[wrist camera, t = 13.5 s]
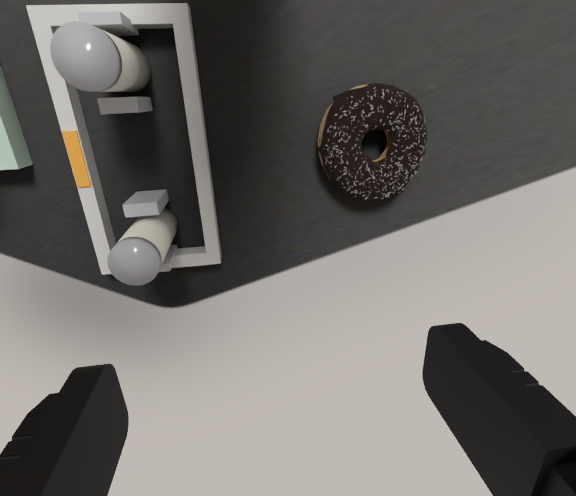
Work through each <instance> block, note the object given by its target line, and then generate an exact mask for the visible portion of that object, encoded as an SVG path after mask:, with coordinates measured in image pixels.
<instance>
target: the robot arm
mask: <svg viewBox="0 0 576 496" xmlns="http://www.w3.org/2000/svg"><path fill="white" fill-rule="evenodd" d="M423 381H424V385H425V389H426V391H427V393H428V395H429V397H430V399H431V400H432V402H433V403H434V405H435V406H436V408H437V410H438V411H439V413H440V414H441V416H442V417H443V419H444V420H445V422H446V423H447V425H448V427H449V428H450V430H451V431H452V433H453V434H454V436H455V437H456V439H457V440H458V442H459V444H460V445H461V447H462V448H463V449H464V451H465V453H466V454H467V456H468V457H469V459H470V461H471V462H472V464H473V465H474V467H475V468H476V470H477V471H478V473H479V474H480V476H481V478H482V479H483V480H484V482H485V484H486V485H487V487H488V488H489V490H490V491H491V493H492V495H493V496H576V416H574V415H573V414H572V413H571V412H570V411H569V410H568V409H567V408H566V407H565V406H564V405H563V404H562V403H561V402H559V401H558V400H557V399H556V398H555V397H554V396H553V395H552V394H551V393H550V392H549V391H548V390H547V389H545V387H543V386H542V385H541V386H540V385H539V383H538V381H537V380H536V379H535V378H534V377H533V376H532V375H531V374H529V372H525V371H524V368H523V367H522V366H521V365H520V364H519V363H518V362H517V361H516V360H515V359H514V358H512V357H511V356H510V355H509V354H508V353H507V352H505V351H504V350H502V349H500V348H498V347H497V346H495V345H493V344H491V343H489V342H487V341H486V340H483V341H481V340H479V338H478V337H477V336H476V335H475V334H474V333H473V332H472V331H470V329H469V328H467V326H465V325H464V324H462V323H456V324H447V325H438V326H432V327H431V328H430V329H429V332H428V338H427V345H426V352H425V358H424V366H423ZM127 431H128V411H127V407H126V404H125V401H124V397H123V394H122V390H121V387H120V384H119V381H118V377H117V374H116V371H115V368H114V367H113V365H111V364H104V365H96V366H87V367H78V368H75V369H74V370H73V371H72V372H71V374H70V375H69V377H68V379H67V380H66V382H65V384H64V385H63V387H62V388H61V390H60V392H59V393H54V394H49V395H48V396H47V397H46V398H45V399H44V400H42V401H41V402H40V403H39V404H38V405H37V406H36V407H35V408H33V409H32V410H31V411H30V412H29V413H28V414H27V415H26V417H25V418H24V420H23V421H22V423H21V424H20V426H19V427H18V429H17V430H16V432H15V433H14V435H13V436H12V441H10V442H8V444H7V445H6V447H5V448H4V450H3V451H2V453H1V454H0V496H107V495H108V492H109V489H110V485H111V483H112V479H113V476H114V473H115V470H116V467H117V464H118V461H119V458H120V455H121V452H122V449H123V446H124V443H125V440H126V437H127Z"/></svg>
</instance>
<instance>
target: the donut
mask: <svg viewBox="0 0 576 496" xmlns="http://www.w3.org/2000/svg"><path fill="white" fill-rule="evenodd" d="M333 99H334V102H333V103H332V104H331V105H330V106H329V107H328V109H327V110H326V112H325V115H324V117H323V119H322V122H321V124H320V129H319V135H318V140H317V141H318V153H319V157H320V161H321V164H322V166H323V168H324V170H325V172H326V174H327V176H328V178H329V179H330V180H329V183H331V184H332V185H334V186H335V187H336V188H338V189H339V190H340V191H341V192H343V193H345V194H347V195H349V196H351V197H353V198H354V199H355V200H358V201H382V200H385V199H388V198H392V197H394V196H396V195H397V194H399V193H400V192H401V191H403V190H404V189H405V188H406V187H407V186H408V184H409V183H410V182H411V180H412V179H413V178H414V176H415V174H416V173H417V170H418V169H419V167H420V165H421V163H422V161H423V157H424V154H425V149H426V140H427V131H426V125H425V118H424V115H423V112H422V109H421V107H420V105H419V104H418V102H417V100H416V99H415V98H414V97H412V96H411V95H410V94H408V93H406V92H405V91H403V90H401V89H399V88H396V87H394V86H392V85H385V84H379V83H376V84H368V85H361V86H357V87H354V88H351V89H349V90H348V91H345V92H343V93H341V94H340V95H336V96H334V97H333ZM372 130H384V132H385V134H386V138H387V146H386V148H385V150H384V152H383V153H382V154H381V155H380V157H379V158H378V159H376V160H371V159H370V158H369V157H368V156H365V155H364V154H363V152H362V146H361V144H362V139H363V137H364V135H365V134H366V133H368V132H369V131H372Z"/></svg>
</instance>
